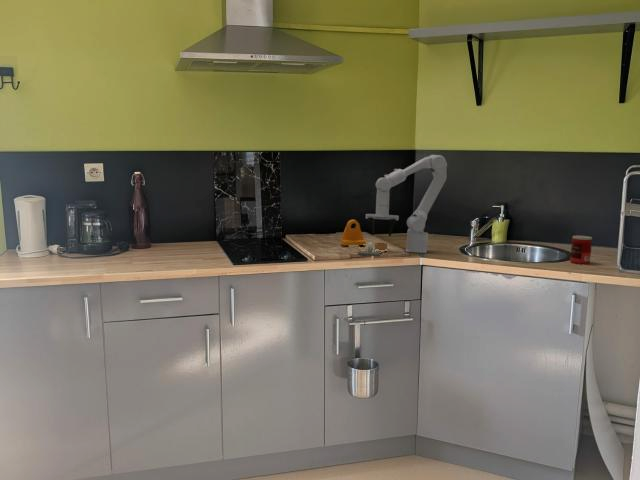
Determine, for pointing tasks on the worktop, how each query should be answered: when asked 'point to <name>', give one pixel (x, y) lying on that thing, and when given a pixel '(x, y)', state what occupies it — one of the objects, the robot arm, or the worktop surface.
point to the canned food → (581, 249)
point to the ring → (381, 246)
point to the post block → (369, 251)
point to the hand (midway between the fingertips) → (381, 235)
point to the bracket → (352, 235)
